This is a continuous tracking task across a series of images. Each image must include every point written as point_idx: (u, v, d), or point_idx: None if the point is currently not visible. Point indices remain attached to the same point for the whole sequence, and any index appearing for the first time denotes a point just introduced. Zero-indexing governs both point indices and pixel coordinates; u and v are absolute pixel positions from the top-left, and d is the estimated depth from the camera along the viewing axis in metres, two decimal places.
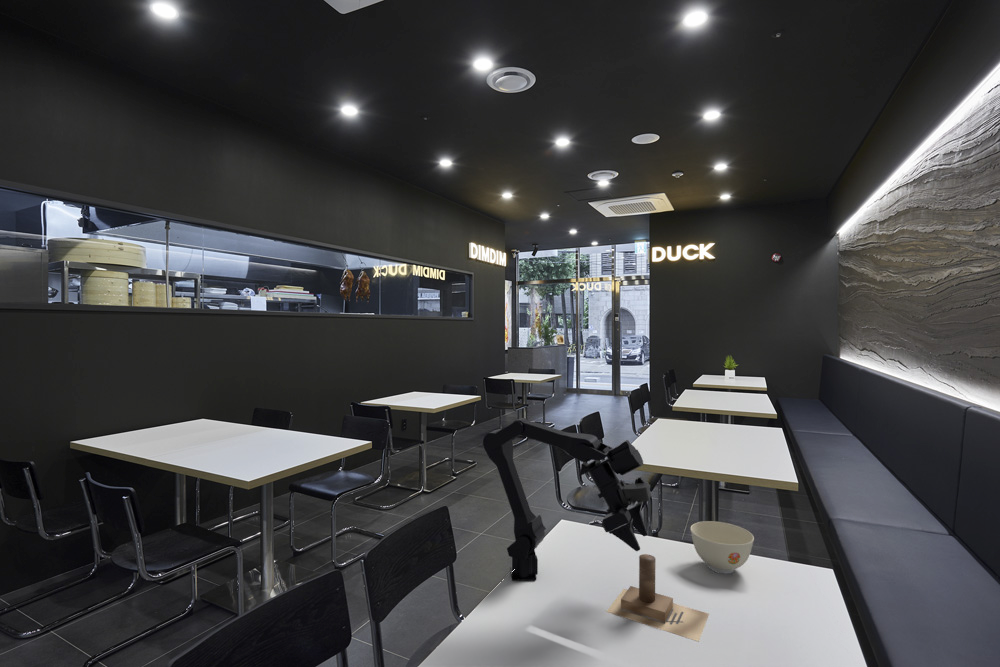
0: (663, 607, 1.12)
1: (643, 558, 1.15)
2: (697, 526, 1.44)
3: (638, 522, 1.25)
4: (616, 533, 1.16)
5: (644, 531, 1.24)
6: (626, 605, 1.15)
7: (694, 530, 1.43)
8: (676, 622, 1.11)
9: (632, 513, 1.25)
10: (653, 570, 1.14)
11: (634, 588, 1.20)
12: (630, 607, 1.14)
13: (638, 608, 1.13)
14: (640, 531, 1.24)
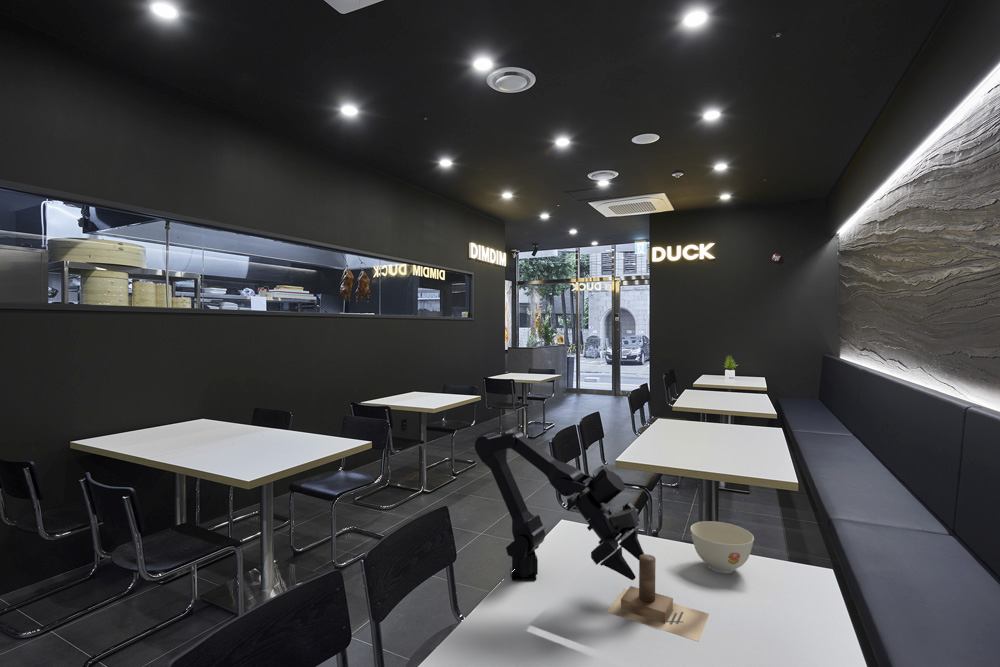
0: (663, 607, 1.12)
1: (643, 558, 1.15)
2: (697, 526, 1.44)
3: (636, 550, 1.22)
4: (608, 564, 1.14)
5: None
6: (626, 605, 1.15)
7: (694, 530, 1.43)
8: (676, 622, 1.11)
9: (629, 541, 1.23)
10: (653, 570, 1.14)
11: (634, 588, 1.20)
12: (630, 607, 1.14)
13: (638, 608, 1.13)
14: None
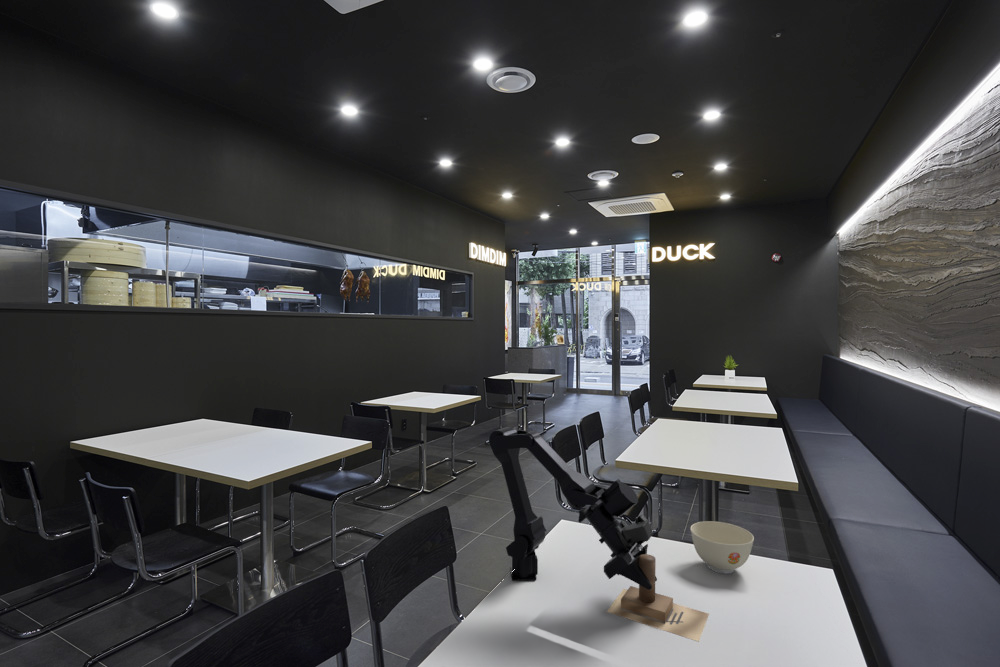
0: (663, 607, 1.12)
1: (643, 558, 1.15)
2: (697, 526, 1.44)
3: None
4: (625, 574, 1.15)
5: None
6: (626, 605, 1.15)
7: (694, 530, 1.43)
8: (676, 622, 1.11)
9: None
10: (653, 570, 1.14)
11: (634, 588, 1.20)
12: (630, 607, 1.14)
13: (638, 608, 1.13)
14: None
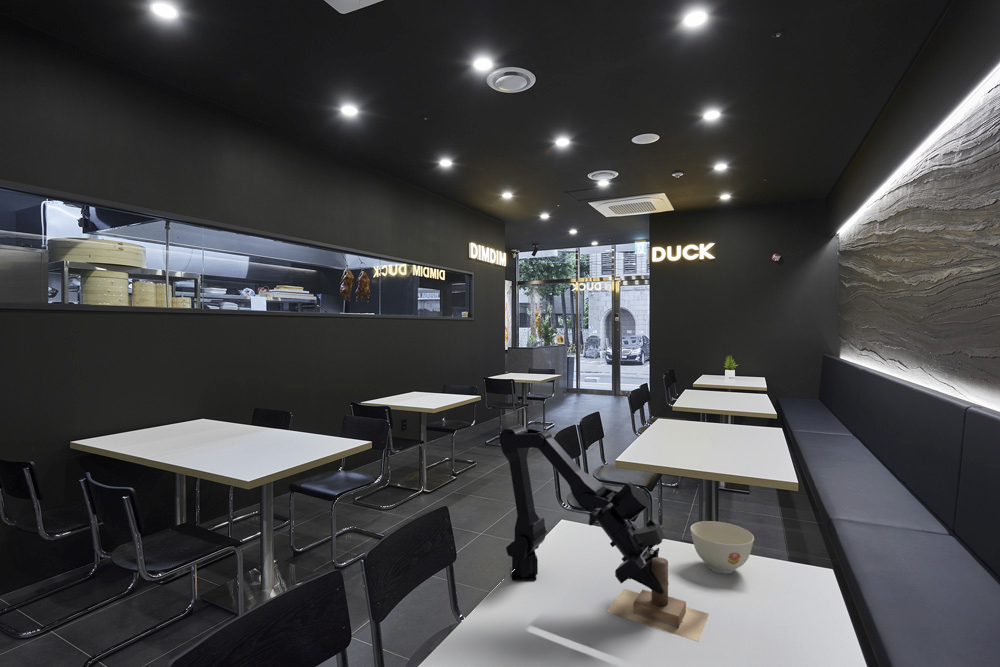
0: (676, 610, 1.11)
1: (655, 561, 1.14)
2: (697, 526, 1.44)
3: None
4: (636, 578, 1.13)
5: None
6: (639, 609, 1.13)
7: (694, 530, 1.43)
8: None
9: None
10: (666, 573, 1.13)
11: (646, 591, 1.19)
12: (643, 611, 1.13)
13: (651, 612, 1.12)
14: None
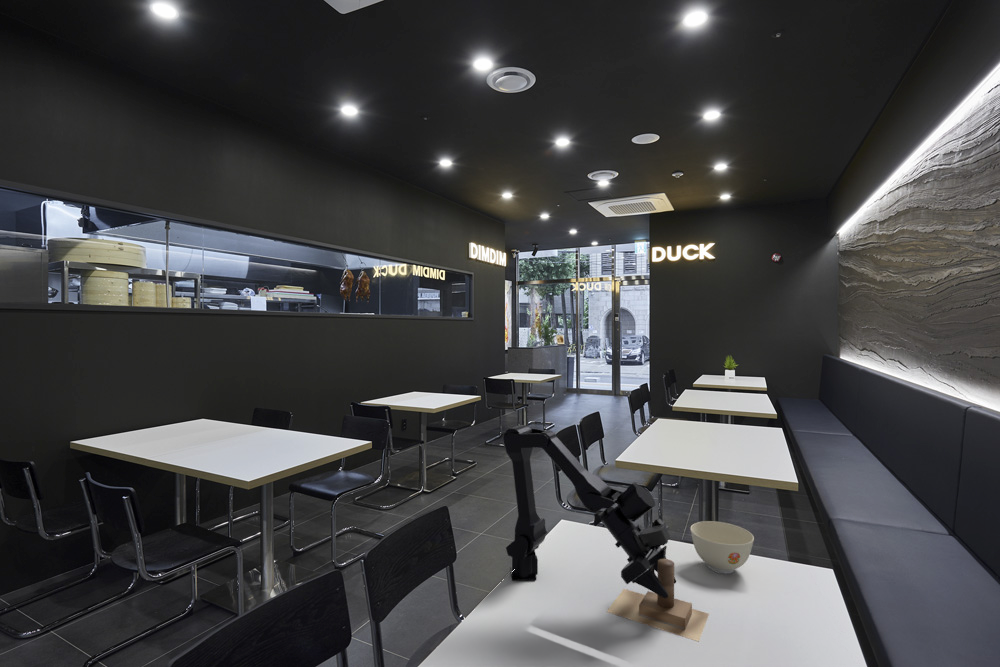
0: (682, 612, 1.10)
1: (662, 563, 1.13)
2: (697, 526, 1.44)
3: None
4: (640, 581, 1.11)
5: None
6: (644, 611, 1.12)
7: (694, 530, 1.43)
8: None
9: (656, 560, 1.18)
10: (672, 575, 1.12)
11: (652, 593, 1.18)
12: (649, 613, 1.12)
13: (657, 614, 1.11)
14: None
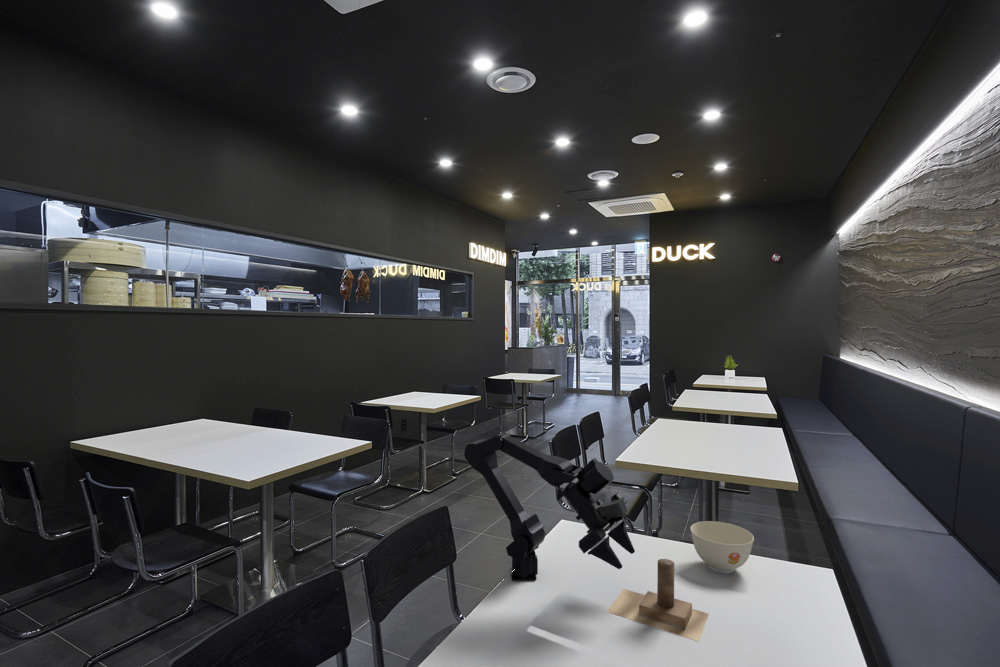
0: (682, 612, 1.10)
1: (662, 563, 1.13)
2: (697, 526, 1.44)
3: (623, 540, 1.23)
4: (595, 553, 1.16)
5: (631, 548, 1.22)
6: (644, 611, 1.12)
7: (694, 530, 1.43)
8: None
9: (617, 532, 1.25)
10: (672, 575, 1.12)
11: (652, 593, 1.18)
12: (649, 613, 1.12)
13: (657, 614, 1.11)
14: (627, 549, 1.23)
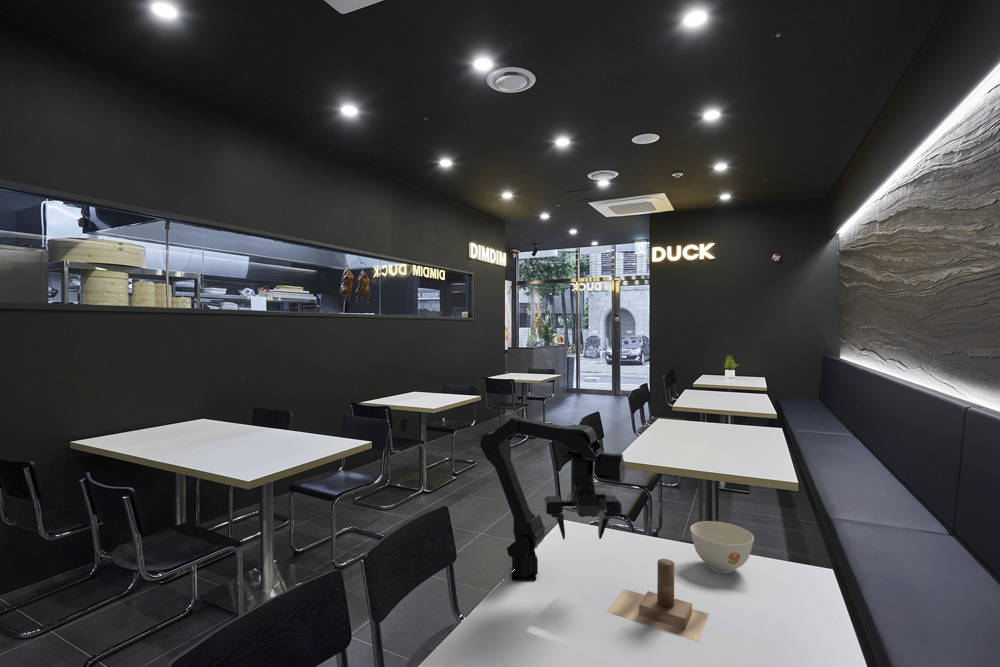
0: (682, 612, 1.10)
1: (662, 563, 1.13)
2: (697, 526, 1.44)
3: (600, 524, 1.26)
4: None
5: (599, 534, 1.26)
6: (644, 611, 1.12)
7: (694, 530, 1.43)
8: None
9: (601, 514, 1.26)
10: (672, 575, 1.12)
11: (652, 593, 1.18)
12: (649, 613, 1.12)
13: (657, 614, 1.11)
14: (598, 531, 1.27)
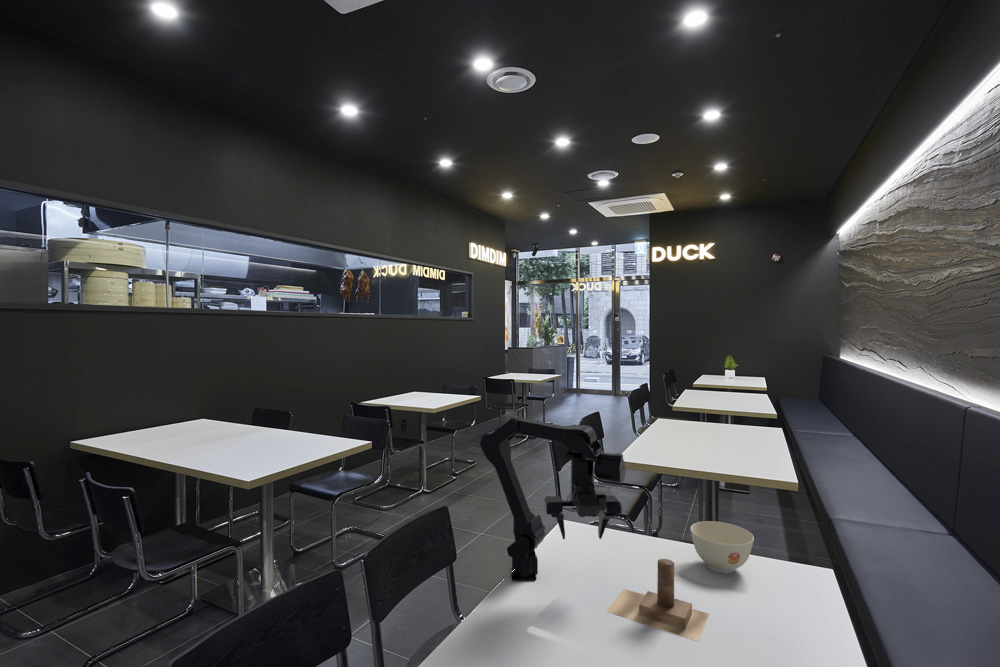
0: (682, 612, 1.10)
1: (662, 563, 1.13)
2: (697, 526, 1.44)
3: (600, 524, 1.26)
4: None
5: (599, 534, 1.26)
6: (644, 611, 1.12)
7: (694, 530, 1.43)
8: None
9: (601, 514, 1.26)
10: (672, 575, 1.12)
11: (652, 593, 1.18)
12: (649, 613, 1.12)
13: (657, 614, 1.11)
14: (598, 531, 1.27)
